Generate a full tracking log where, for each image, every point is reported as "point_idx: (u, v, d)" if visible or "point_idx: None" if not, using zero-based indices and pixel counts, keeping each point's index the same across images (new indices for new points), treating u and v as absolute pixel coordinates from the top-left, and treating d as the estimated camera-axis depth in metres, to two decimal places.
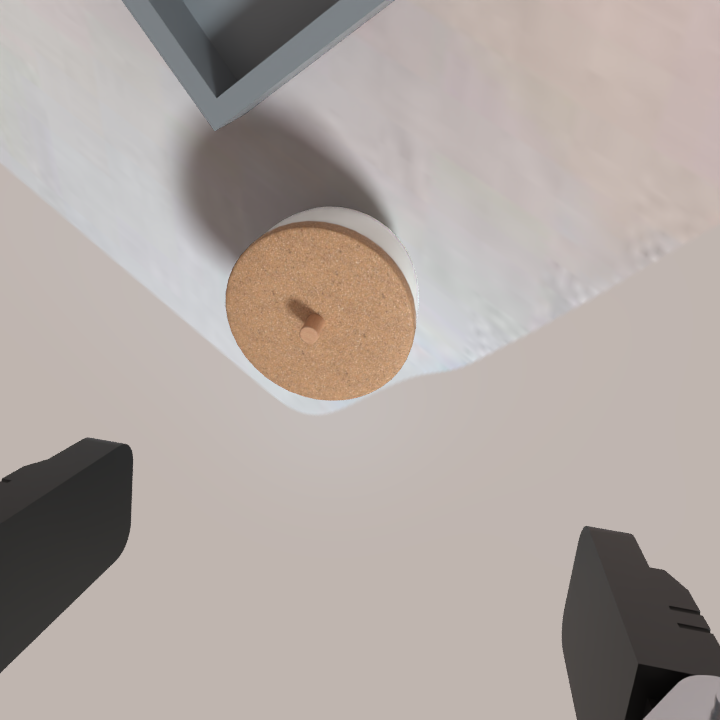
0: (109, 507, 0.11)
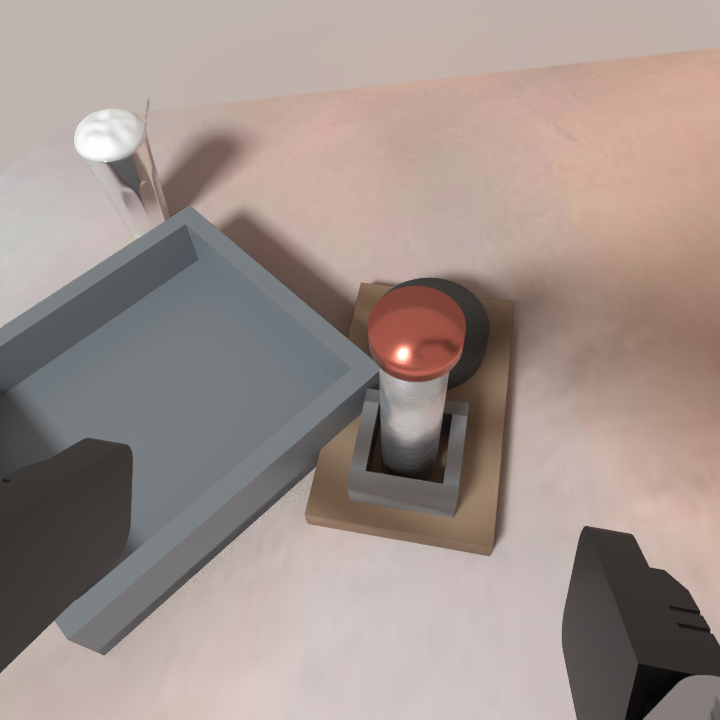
0: (109, 506, 0.11)
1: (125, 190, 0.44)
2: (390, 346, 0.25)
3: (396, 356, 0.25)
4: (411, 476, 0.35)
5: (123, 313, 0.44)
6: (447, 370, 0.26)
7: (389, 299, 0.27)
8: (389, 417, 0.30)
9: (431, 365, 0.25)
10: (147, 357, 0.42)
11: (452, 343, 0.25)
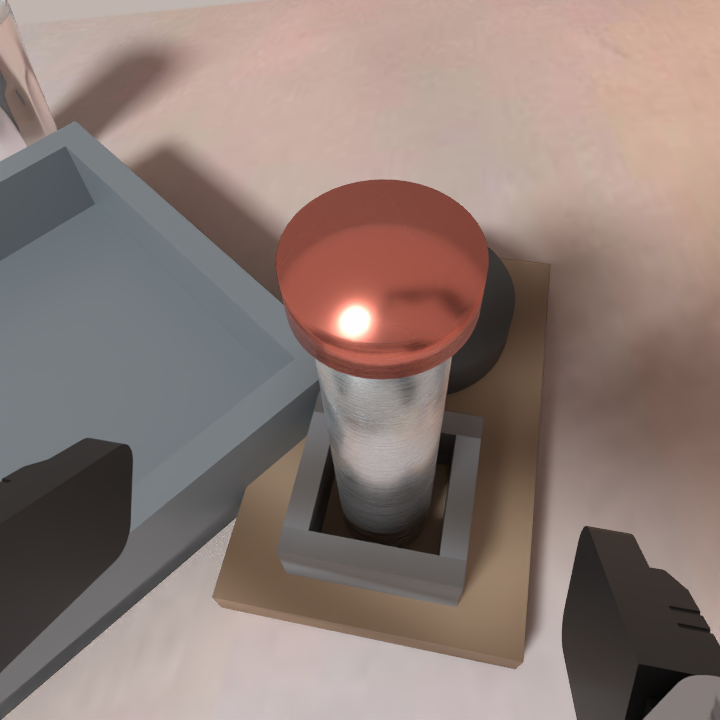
0: (110, 507, 0.11)
1: None
2: (321, 299, 0.11)
3: (332, 320, 0.11)
4: (387, 538, 0.21)
5: None
6: (447, 354, 0.12)
7: (326, 206, 0.13)
8: (340, 445, 0.16)
9: (411, 341, 0.11)
10: (1, 341, 0.28)
11: (459, 293, 0.11)
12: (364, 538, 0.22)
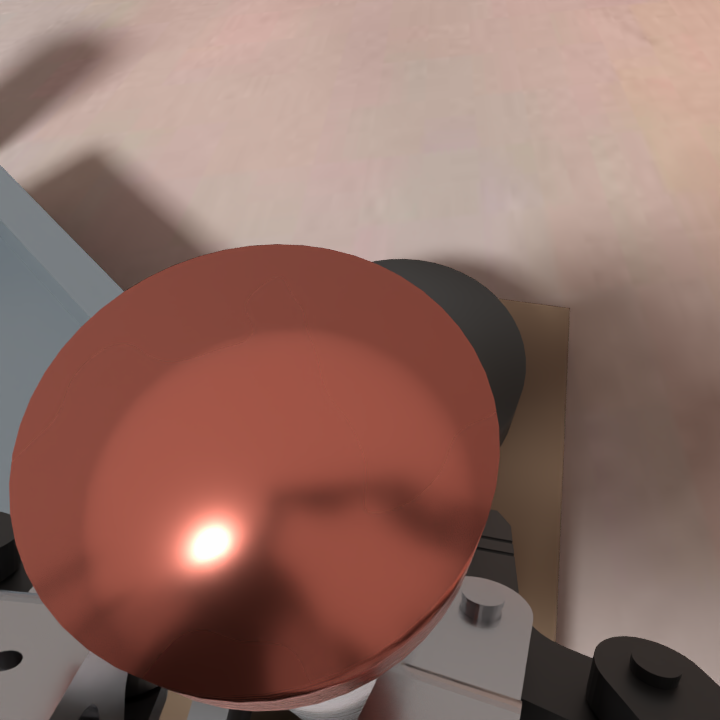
0: None
1: None
2: (98, 553, 0.05)
3: (114, 620, 0.04)
4: None
5: None
6: (406, 653, 0.05)
7: (153, 303, 0.06)
8: None
9: (304, 685, 0.04)
10: None
11: (429, 542, 0.05)
12: None
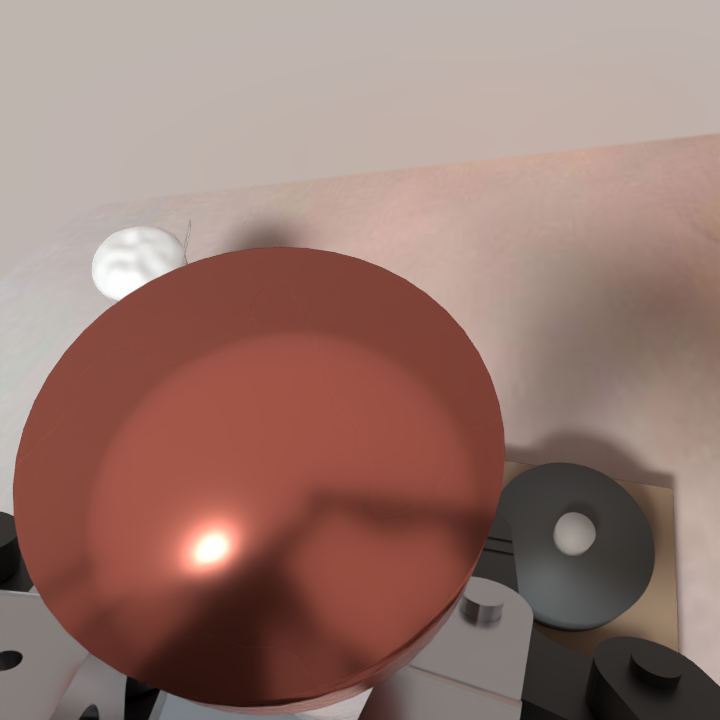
0: None
1: None
2: (102, 557, 0.05)
3: (119, 625, 0.04)
4: None
5: None
6: (410, 657, 0.05)
7: (155, 308, 0.06)
8: None
9: (309, 691, 0.04)
10: None
11: (434, 547, 0.05)
12: None
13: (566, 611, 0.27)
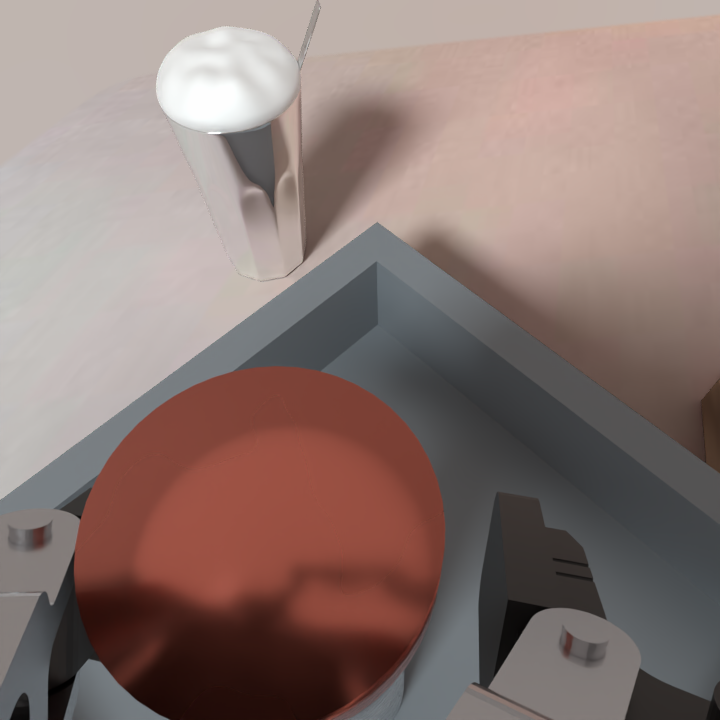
0: None
1: (249, 192, 0.23)
2: (142, 626, 0.06)
3: (156, 678, 0.06)
4: None
5: None
6: (376, 697, 0.07)
7: (178, 420, 0.08)
8: None
9: None
10: None
11: (388, 618, 0.06)
12: None
13: None
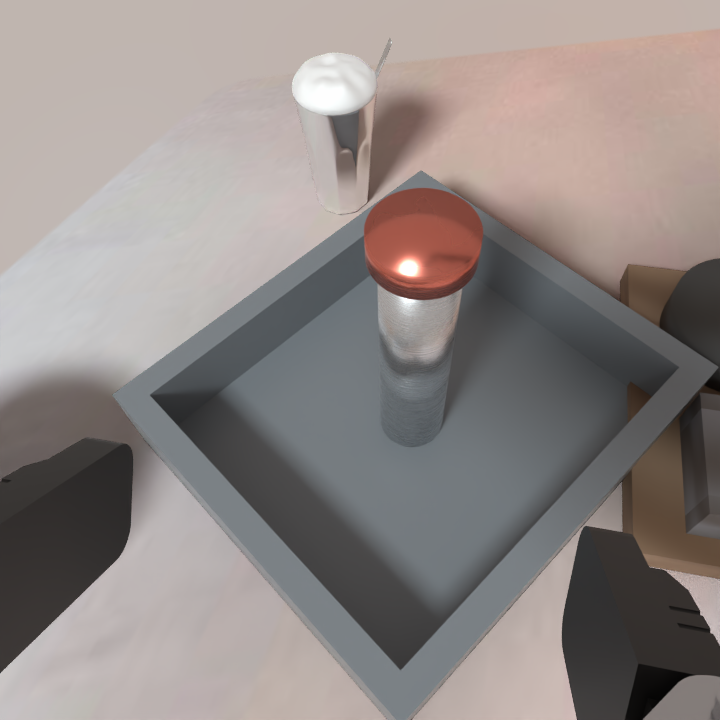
0: (109, 506, 0.11)
1: (342, 153, 0.37)
2: (391, 254, 0.21)
3: (398, 265, 0.21)
4: (414, 433, 0.30)
5: (341, 300, 0.36)
6: (460, 286, 0.21)
7: (390, 203, 0.22)
8: (389, 355, 0.26)
9: (441, 275, 0.20)
10: None
11: (466, 250, 0.21)
12: (398, 435, 0.31)
13: None
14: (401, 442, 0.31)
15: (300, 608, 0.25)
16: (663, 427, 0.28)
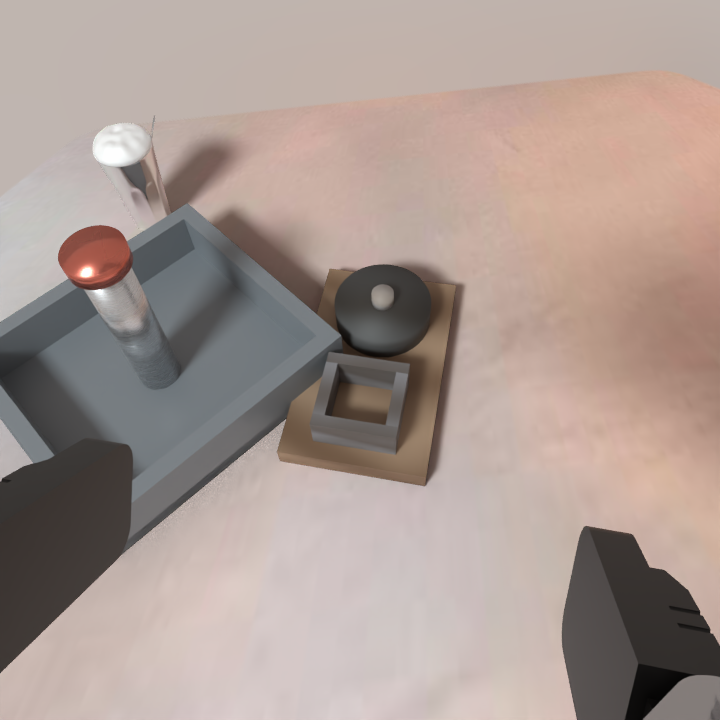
0: (109, 506, 0.11)
1: (134, 190, 0.53)
2: (69, 264, 0.37)
3: (71, 270, 0.37)
4: (151, 379, 0.47)
5: None
6: (113, 282, 0.38)
7: (79, 234, 0.38)
8: (106, 325, 0.42)
9: (93, 276, 0.37)
10: None
11: (111, 262, 0.37)
12: (143, 381, 0.47)
13: (374, 336, 0.47)
14: (148, 386, 0.48)
15: None
16: (293, 372, 0.44)
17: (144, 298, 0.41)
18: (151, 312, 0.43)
